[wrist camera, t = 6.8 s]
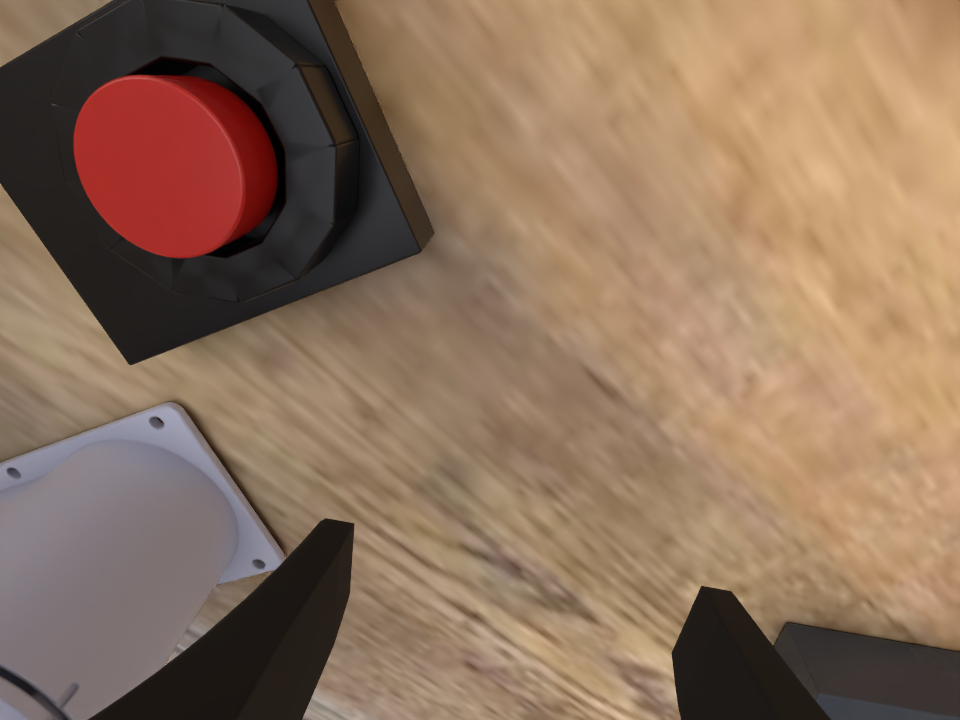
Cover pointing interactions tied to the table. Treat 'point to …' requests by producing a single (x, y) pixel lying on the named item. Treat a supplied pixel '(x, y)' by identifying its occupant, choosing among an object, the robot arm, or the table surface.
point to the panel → (872, 675)
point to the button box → (294, 136)
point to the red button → (174, 163)
